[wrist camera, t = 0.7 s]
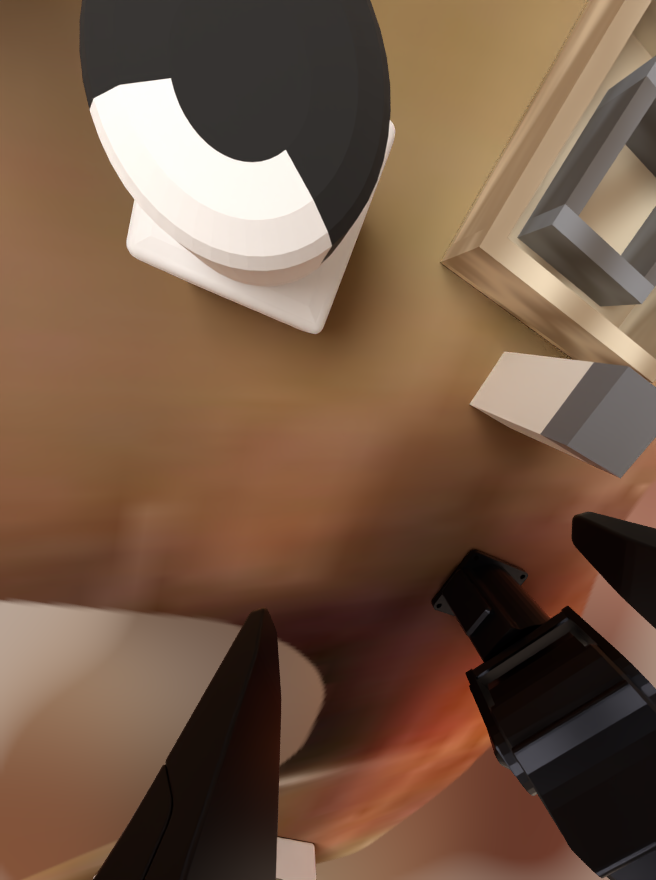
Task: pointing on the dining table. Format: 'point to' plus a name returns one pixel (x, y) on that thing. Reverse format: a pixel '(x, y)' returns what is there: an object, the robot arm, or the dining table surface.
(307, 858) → the gable box
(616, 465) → the grey rectangular prism
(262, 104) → the medicine bottle
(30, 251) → the dining table surface
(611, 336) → the socket box
